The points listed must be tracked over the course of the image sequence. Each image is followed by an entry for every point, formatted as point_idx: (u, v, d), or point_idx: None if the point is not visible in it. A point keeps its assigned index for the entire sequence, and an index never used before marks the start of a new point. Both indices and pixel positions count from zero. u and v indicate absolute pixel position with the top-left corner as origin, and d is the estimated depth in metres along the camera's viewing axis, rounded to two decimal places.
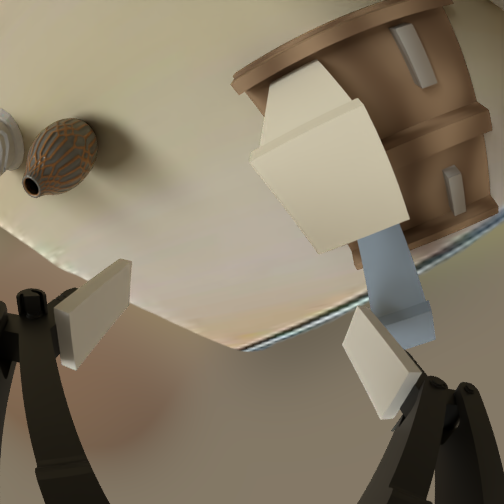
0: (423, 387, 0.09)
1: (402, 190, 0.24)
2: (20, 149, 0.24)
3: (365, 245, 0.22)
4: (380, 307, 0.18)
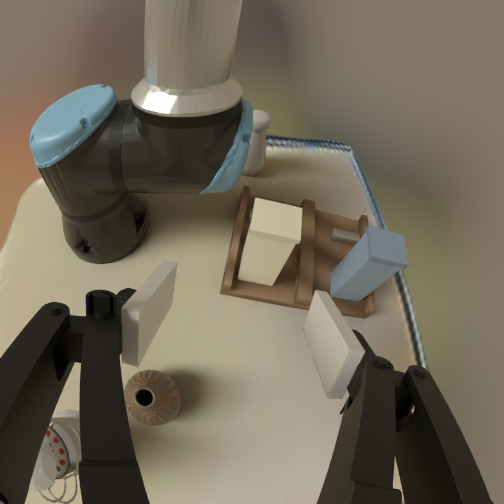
0: (367, 369, 0.10)
1: (332, 264, 0.44)
2: None
3: (344, 279, 0.37)
4: (366, 256, 0.32)
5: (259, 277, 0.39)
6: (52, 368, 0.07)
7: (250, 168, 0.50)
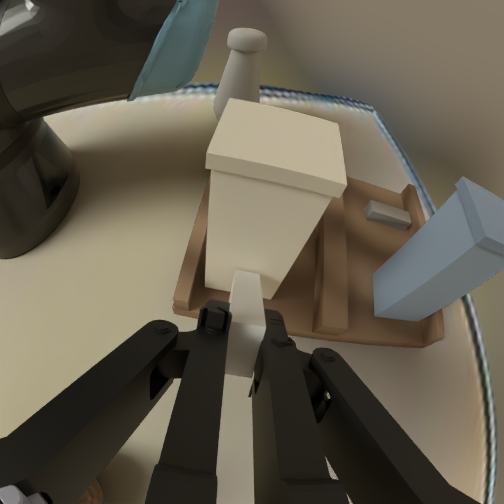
0: (266, 349, 0.10)
1: (374, 260, 0.25)
2: None
3: (409, 285, 0.18)
4: (465, 238, 0.13)
5: None
6: (147, 387, 0.08)
7: None
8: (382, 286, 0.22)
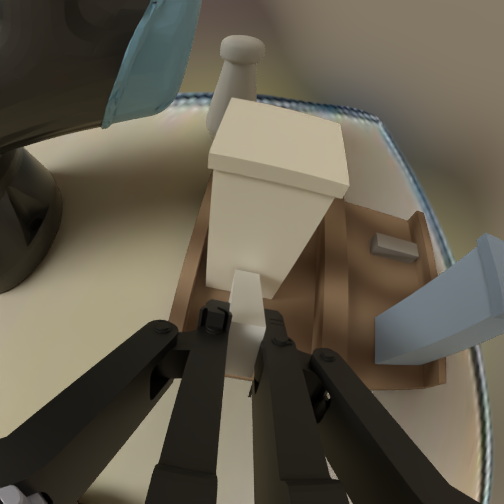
0: (266, 349, 0.10)
1: (377, 300, 0.23)
2: None
3: (414, 341, 0.16)
4: (481, 306, 0.11)
5: None
6: (147, 387, 0.08)
7: None
8: (385, 334, 0.20)
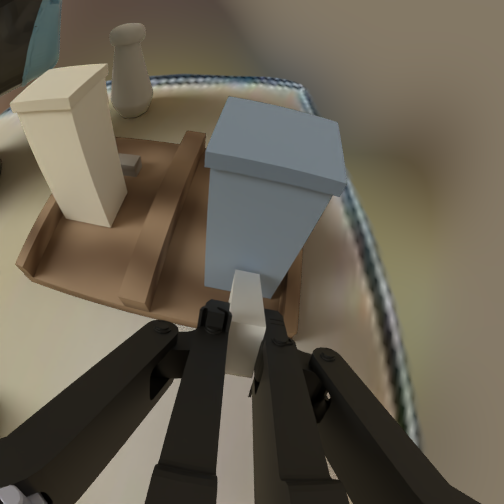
0: (266, 349, 0.10)
1: None
2: None
3: None
4: None
5: (84, 210, 0.20)
6: (147, 387, 0.08)
7: (124, 103, 0.29)
8: None
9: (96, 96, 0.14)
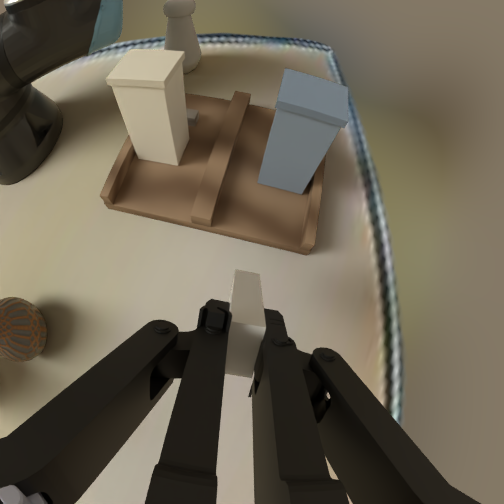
0: (266, 349, 0.10)
1: None
2: None
3: (265, 152, 0.26)
4: None
5: (158, 153, 0.28)
6: (147, 387, 0.08)
7: None
8: None
9: (177, 75, 0.20)
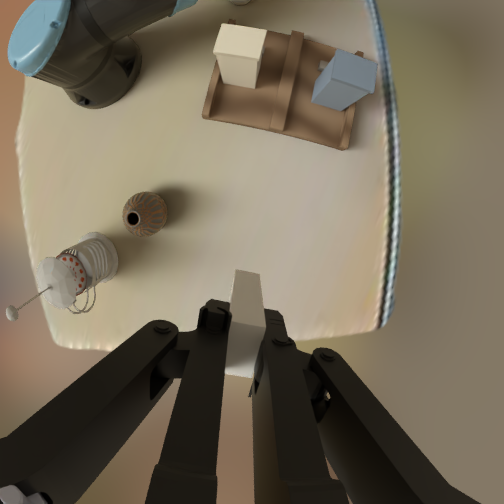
0: (266, 349, 0.10)
1: None
2: (113, 251, 0.47)
3: (319, 90, 0.35)
4: (331, 75, 0.29)
5: (241, 82, 0.37)
6: (147, 387, 0.08)
7: (238, 0, 0.33)
8: (315, 88, 0.38)
9: None
